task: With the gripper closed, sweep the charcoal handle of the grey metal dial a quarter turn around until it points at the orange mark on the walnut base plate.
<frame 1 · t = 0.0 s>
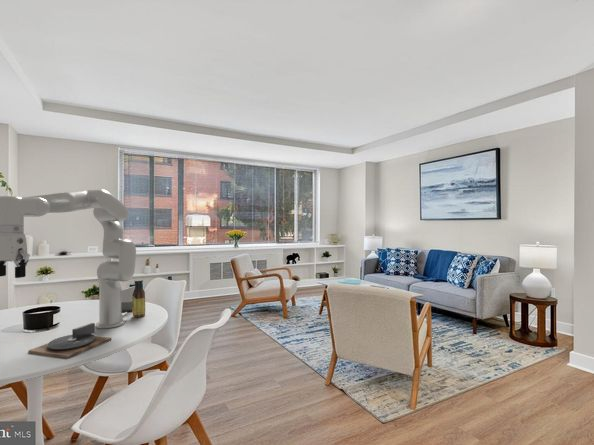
hand: (10, 276, 119), 31 cm above the table, tool pointing down, fingers open, 9 cm apart
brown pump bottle: (138, 316, 178), on the table
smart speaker: (128, 310, 190), on the table
dial: (74, 335, 136), point 4 cm above the table, hinge at 0.0°
dial base plate: (72, 346, 135), on the table
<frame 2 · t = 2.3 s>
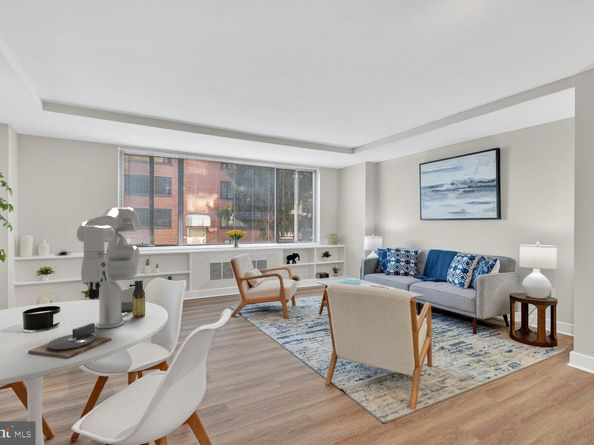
hand: (94, 298, 139), 19 cm above the table, tool pointing down, fingers closed
nothing on the table moved.
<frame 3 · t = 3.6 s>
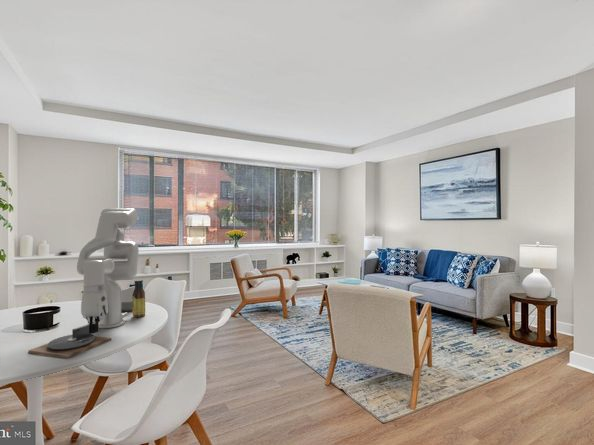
hand: (93, 332, 138), 5 cm above the table, tool pointing down, fingers closed
nothing on the table moved.
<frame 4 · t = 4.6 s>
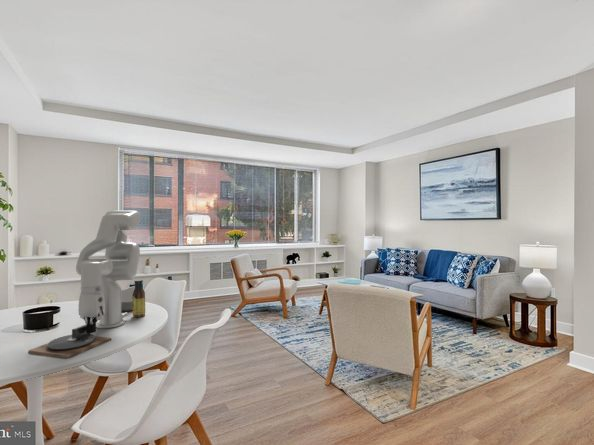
hand: (91, 332, 141), 4 cm above the table, tool pointing down, fingers closed
dial: (74, 335, 136), point 4 cm above the table, hinge at 5.4°, touching gripper
everything else where it was.
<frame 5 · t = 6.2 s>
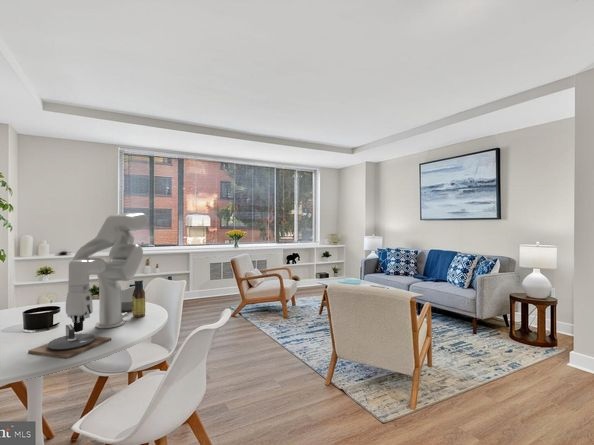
hand: (78, 331, 141), 4 cm above the table, tool pointing down, fingers closed
dial: (71, 335, 136), point 4 cm above the table, hinge at 57.4°, touching gripper
everything else where it was.
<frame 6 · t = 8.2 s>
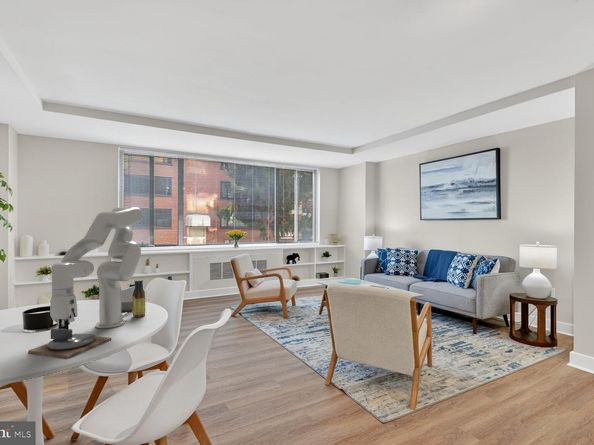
hand: (63, 334, 139), 3 cm above the table, tool pointing down, fingers closed
dial: (70, 336, 135), point 4 cm above the table, hinge at 91.2°, touching gripper
everything else where it was.
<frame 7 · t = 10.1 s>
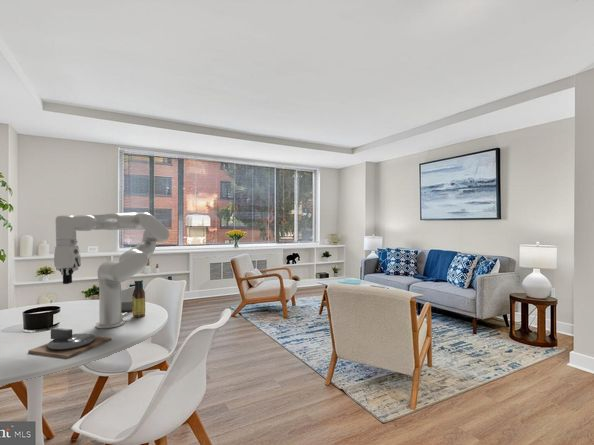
hand: (67, 283, 148), 24 cm above the table, tool pointing down, fingers closed
dial: (70, 336, 135), point 4 cm above the table, hinge at 91.3°
everything else where it was.
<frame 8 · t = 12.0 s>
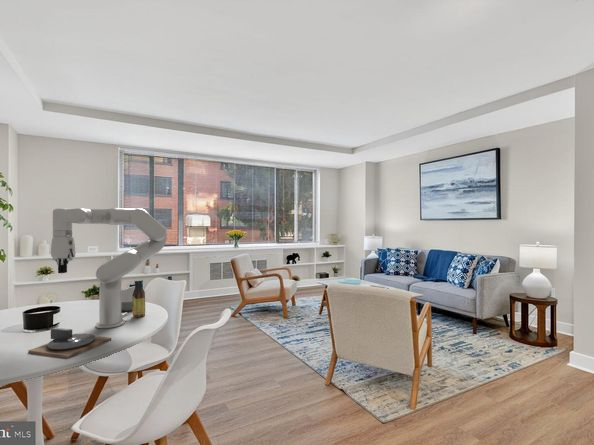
hand: (62, 272, 155), 27 cm above the table, tool pointing down, fingers closed
nothing on the table moved.
at the end: dial at +91° (first picture: +0°) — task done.
